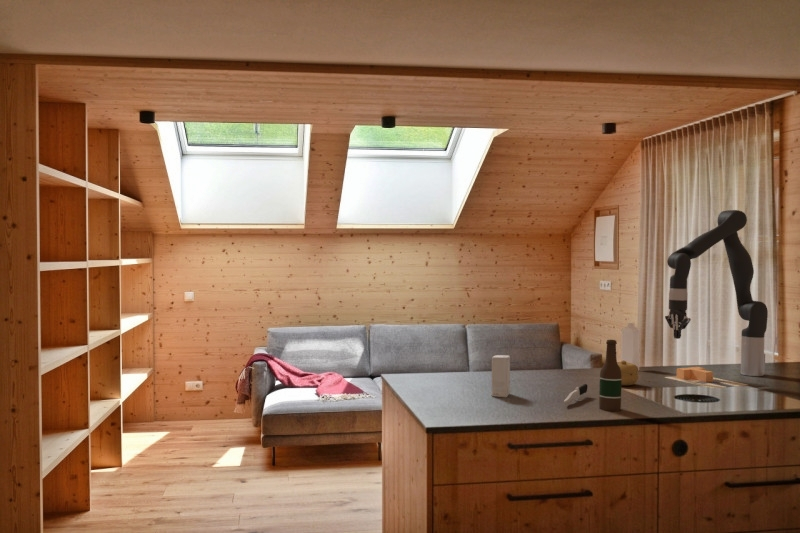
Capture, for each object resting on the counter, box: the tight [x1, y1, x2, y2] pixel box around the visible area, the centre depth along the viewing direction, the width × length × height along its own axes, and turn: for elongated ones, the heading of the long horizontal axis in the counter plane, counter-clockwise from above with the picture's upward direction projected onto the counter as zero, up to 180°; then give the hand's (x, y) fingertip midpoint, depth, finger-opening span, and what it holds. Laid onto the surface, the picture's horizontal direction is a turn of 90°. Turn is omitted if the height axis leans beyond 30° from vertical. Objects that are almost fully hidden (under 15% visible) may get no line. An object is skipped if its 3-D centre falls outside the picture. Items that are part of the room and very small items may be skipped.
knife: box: [563, 383, 588, 407], centre depth 262 cm, size 25×2×5 cm, turn 148°
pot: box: [617, 360, 639, 387], centre depth 297 cm, size 12×12×10 cm
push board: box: [664, 375, 748, 389], centre depth 302 cm, size 20×26×1 cm
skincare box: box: [491, 354, 511, 398], centre depth 272 cm, size 8×6×15 cm
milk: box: [620, 322, 641, 372], centre depth 332 cm, size 6×6×22 cm
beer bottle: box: [598, 339, 622, 412], centre depth 251 cm, size 8×8×24 cm
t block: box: [676, 366, 714, 382], centre depth 306 cm, size 12×12×4 cm
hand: (677, 338), depth 316 cm, fingers closed
